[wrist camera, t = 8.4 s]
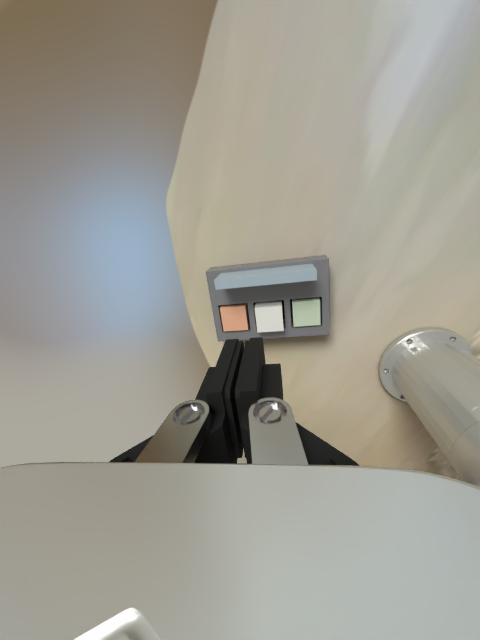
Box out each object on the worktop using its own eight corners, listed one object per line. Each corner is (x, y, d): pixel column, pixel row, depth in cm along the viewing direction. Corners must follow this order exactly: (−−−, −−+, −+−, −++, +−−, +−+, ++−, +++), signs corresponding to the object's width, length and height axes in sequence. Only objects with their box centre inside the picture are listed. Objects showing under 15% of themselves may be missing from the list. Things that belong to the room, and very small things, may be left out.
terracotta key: (247, 299, 39) (245, 306, 36) (250, 321, 40) (248, 329, 37) (223, 301, 40) (219, 308, 37) (227, 323, 41) (223, 331, 38)
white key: (281, 298, 37) (281, 305, 34) (283, 322, 38) (283, 330, 36) (256, 301, 38) (254, 308, 35) (258, 324, 39) (257, 332, 36)
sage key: (316, 293, 37) (320, 299, 34) (317, 317, 39) (320, 325, 36) (291, 295, 38) (292, 302, 35) (292, 318, 39) (293, 326, 36)
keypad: (324, 255, 36) (335, 264, 29) (325, 326, 39) (335, 348, 33) (210, 267, 38) (197, 278, 32) (221, 332, 42) (211, 354, 36)
